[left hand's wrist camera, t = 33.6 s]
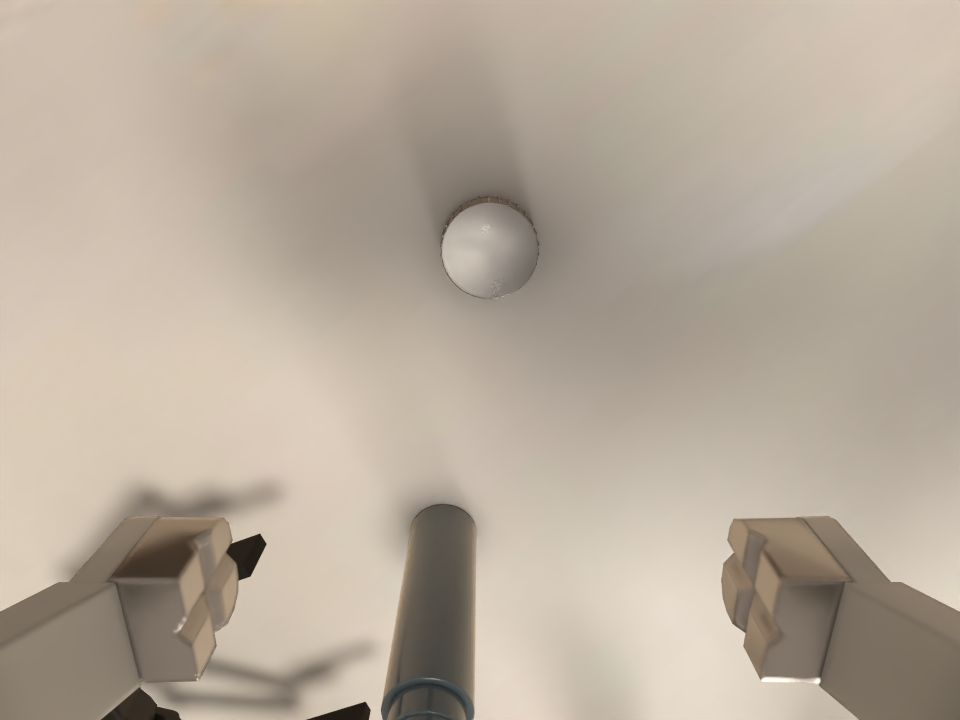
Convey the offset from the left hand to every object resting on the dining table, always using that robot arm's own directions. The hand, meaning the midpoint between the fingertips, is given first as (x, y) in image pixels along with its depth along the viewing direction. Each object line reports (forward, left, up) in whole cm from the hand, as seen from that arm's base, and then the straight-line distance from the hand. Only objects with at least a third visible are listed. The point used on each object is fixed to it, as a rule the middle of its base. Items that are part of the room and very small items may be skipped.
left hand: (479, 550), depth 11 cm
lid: (0, 0, -24) cm, 25 cm away
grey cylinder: (+9, +16, -26) cm, 32 cm away
